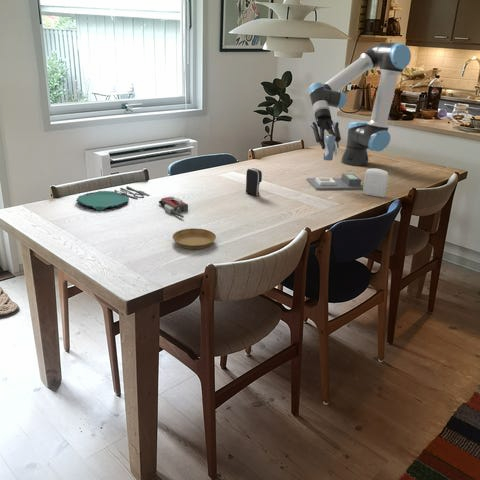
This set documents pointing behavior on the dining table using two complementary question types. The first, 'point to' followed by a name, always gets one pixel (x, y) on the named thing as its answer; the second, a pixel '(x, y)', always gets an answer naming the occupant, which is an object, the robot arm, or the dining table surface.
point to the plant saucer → (194, 238)
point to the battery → (253, 181)
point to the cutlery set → (107, 199)
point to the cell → (329, 147)
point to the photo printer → (375, 182)
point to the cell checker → (337, 183)
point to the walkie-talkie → (173, 205)
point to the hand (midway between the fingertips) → (332, 154)
